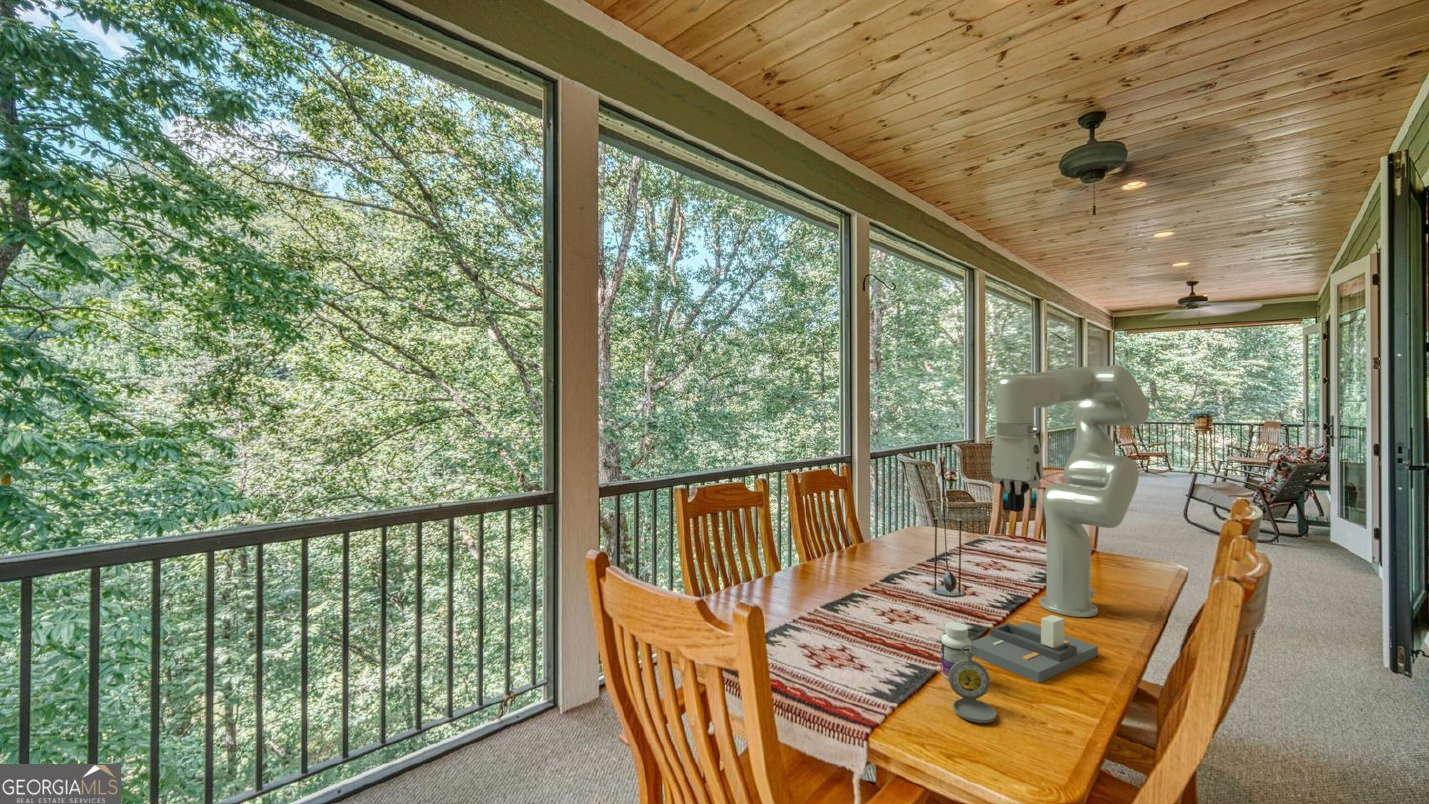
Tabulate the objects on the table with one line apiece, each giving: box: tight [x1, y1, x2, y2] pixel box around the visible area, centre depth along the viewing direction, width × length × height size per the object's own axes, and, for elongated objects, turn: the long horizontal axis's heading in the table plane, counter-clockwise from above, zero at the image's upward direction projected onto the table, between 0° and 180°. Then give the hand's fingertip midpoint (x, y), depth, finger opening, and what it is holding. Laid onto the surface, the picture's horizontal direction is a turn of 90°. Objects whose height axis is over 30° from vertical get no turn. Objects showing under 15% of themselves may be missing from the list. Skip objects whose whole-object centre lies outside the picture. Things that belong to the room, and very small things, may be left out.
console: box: [971, 621, 1099, 684], centre depth 119 cm, size 22×15×4 cm
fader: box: [1040, 614, 1065, 651], centre depth 115 cm, size 4×3×7 cm
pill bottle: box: [940, 621, 973, 683], centre depth 109 cm, size 5×5×10 cm
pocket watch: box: [948, 645, 997, 724], centre depth 97 cm, size 8×8×10 cm
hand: (1016, 510), depth 132 cm, fingers closed
